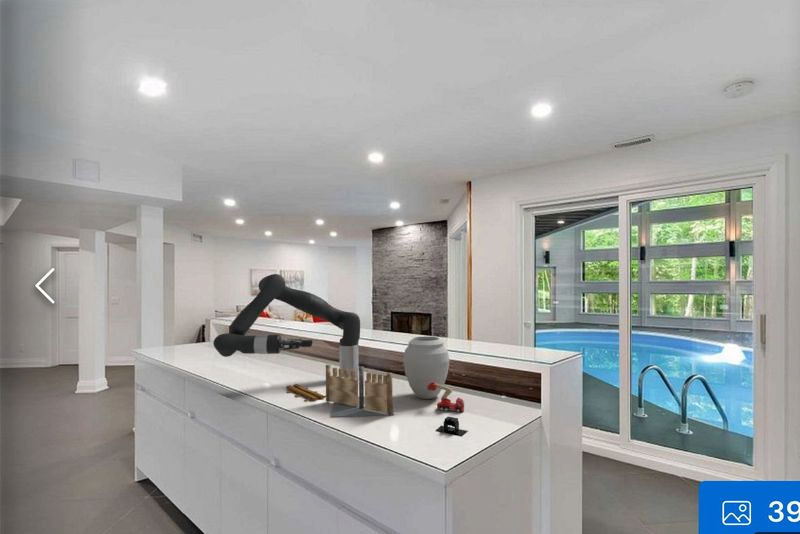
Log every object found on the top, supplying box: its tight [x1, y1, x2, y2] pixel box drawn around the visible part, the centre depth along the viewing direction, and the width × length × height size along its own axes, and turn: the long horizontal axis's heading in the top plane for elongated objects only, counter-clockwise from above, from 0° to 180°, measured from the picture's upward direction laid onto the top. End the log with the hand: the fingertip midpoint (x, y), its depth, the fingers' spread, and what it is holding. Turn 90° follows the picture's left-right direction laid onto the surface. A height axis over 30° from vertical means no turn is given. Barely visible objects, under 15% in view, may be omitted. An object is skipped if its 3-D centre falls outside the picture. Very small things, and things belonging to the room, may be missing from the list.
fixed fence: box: [358, 365, 394, 417], centre depth 148 cm, size 15×2×16 cm, turn 59°
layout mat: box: [330, 395, 395, 418], centre depth 154 cm, size 24×23×1 cm
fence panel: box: [325, 364, 359, 407], centre depth 156 cm, size 16×2×14 cm, turn 59°
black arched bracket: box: [435, 416, 469, 438], centre depth 128 cm, size 12×7×5 cm, turn 60°
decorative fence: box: [285, 383, 326, 403], centre depth 172 cm, size 25×2×10 cm
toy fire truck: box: [428, 382, 465, 413], centre depth 149 cm, size 3×14×10 cm, turn 71°
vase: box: [402, 336, 450, 400], centre depth 166 cm, size 20×20×24 cm
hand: (311, 343), depth 159 cm, fingers closed
